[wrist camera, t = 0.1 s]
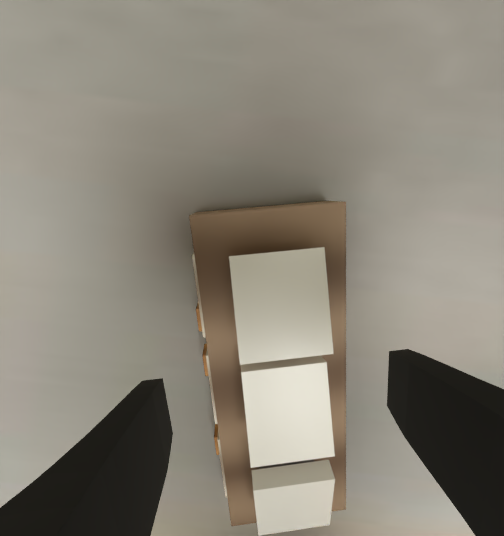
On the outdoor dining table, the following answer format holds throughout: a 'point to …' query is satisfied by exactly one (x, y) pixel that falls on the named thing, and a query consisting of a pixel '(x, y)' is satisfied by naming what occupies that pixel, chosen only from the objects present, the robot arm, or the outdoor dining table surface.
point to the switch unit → (225, 336)
